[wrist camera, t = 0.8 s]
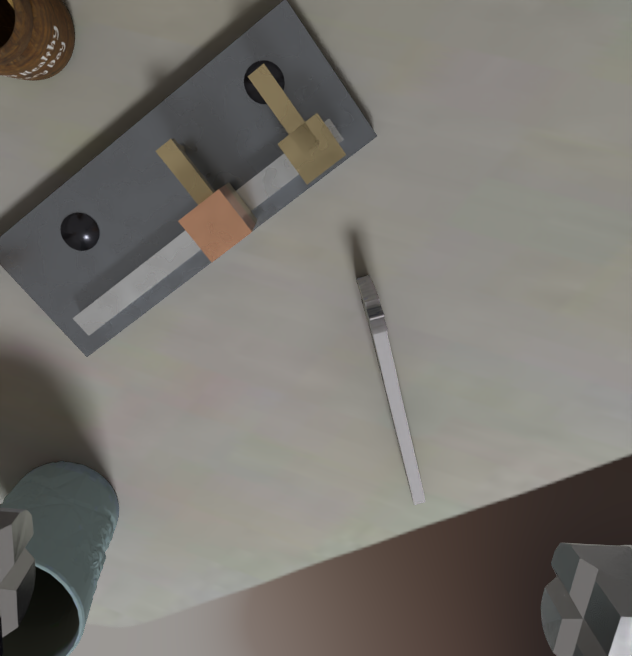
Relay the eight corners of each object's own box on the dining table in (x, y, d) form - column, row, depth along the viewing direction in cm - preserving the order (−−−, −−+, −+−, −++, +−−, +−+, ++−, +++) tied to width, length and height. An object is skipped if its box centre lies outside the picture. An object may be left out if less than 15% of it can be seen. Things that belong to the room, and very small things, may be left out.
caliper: (354, 276, 43) (362, 299, 38) (368, 272, 43) (379, 294, 37) (412, 501, 50) (428, 551, 44) (425, 498, 50) (442, 548, 44)
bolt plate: (286, 3, 37) (284, -16, 33) (374, 136, 40) (384, 136, 35) (-4, 245, 42) (-43, 259, 37) (93, 349, 44) (69, 375, 40)
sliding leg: (191, 129, 38) (171, 128, 32) (259, 217, 40) (251, 231, 34) (156, 158, 38) (130, 162, 32) (224, 243, 40) (211, 262, 34)
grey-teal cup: (-11, 465, 47) (-109, 570, 36) (109, 440, 47) (48, 538, 35) (35, 565, 50) (-42, 691, 39) (148, 542, 50) (103, 663, 39)
